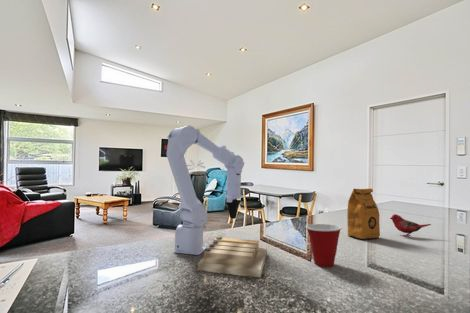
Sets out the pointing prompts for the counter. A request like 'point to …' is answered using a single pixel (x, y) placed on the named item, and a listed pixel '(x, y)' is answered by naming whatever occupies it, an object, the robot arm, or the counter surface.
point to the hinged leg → (238, 241)
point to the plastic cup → (324, 243)
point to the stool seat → (233, 259)
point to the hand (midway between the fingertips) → (233, 218)
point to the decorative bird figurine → (406, 225)
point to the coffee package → (363, 215)
